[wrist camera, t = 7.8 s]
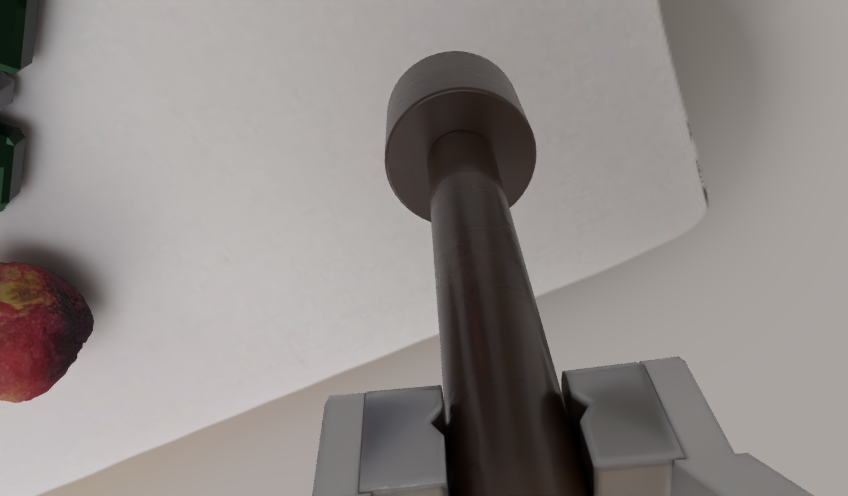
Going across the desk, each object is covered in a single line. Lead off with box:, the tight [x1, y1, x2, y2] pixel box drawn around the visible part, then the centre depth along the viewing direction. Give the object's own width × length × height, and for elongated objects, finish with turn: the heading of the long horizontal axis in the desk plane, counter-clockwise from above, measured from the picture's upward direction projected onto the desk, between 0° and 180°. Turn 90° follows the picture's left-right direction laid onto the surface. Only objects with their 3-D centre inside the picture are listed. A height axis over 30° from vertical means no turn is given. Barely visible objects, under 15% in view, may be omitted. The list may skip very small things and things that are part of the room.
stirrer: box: [385, 51, 590, 496], centre depth 12 cm, size 4×4×15 cm
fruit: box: [0, 262, 94, 403], centre depth 40 cm, size 8×8×8 cm
